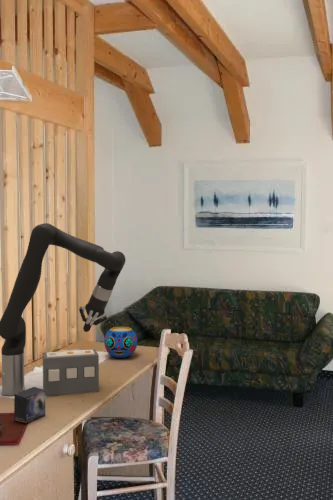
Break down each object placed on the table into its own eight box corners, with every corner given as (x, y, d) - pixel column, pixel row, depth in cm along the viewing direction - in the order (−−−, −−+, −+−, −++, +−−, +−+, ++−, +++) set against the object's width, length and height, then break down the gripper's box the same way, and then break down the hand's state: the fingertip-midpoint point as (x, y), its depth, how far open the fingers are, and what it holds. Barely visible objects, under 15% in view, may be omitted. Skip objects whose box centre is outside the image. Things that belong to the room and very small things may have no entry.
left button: (48, 381, 237) (48, 371, 236) (48, 379, 240) (48, 369, 239) (59, 380, 238) (59, 370, 237) (58, 378, 241) (58, 368, 240)
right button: (84, 377, 243) (84, 367, 242) (83, 375, 245) (83, 365, 245) (94, 376, 244) (94, 366, 243) (93, 374, 247) (93, 364, 246)
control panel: (44, 396, 239) (43, 357, 237) (43, 388, 248) (42, 351, 247) (98, 391, 245) (98, 353, 243) (95, 384, 254) (95, 348, 253)
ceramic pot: (101, 361, 292) (101, 332, 291) (106, 352, 310) (106, 325, 309) (135, 361, 292) (135, 332, 290) (138, 352, 309) (138, 325, 308)
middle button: (66, 378, 241) (66, 368, 240) (65, 376, 244) (65, 366, 243) (76, 377, 242) (76, 367, 241) (76, 375, 245) (76, 365, 244)
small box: (26, 425, 208) (25, 397, 207) (13, 421, 211) (12, 393, 210) (46, 416, 217) (46, 389, 216) (34, 412, 220) (33, 386, 219)
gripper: (85, 293, 232) (70, 330, 236) (115, 304, 235) (100, 340, 239) (86, 287, 239) (71, 322, 243) (115, 297, 242) (99, 332, 246)
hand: (85, 331), depth 241 cm, fingers closed
